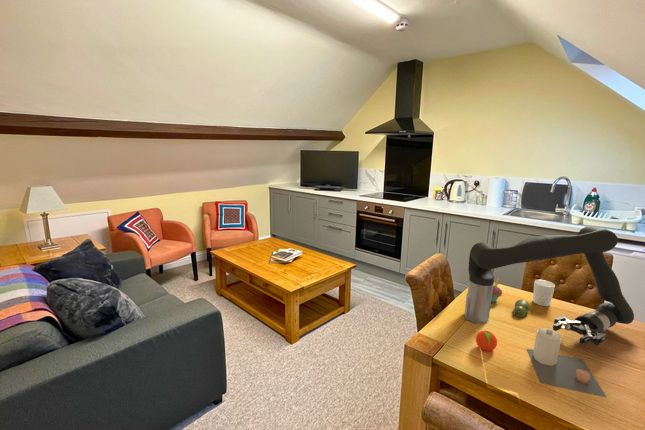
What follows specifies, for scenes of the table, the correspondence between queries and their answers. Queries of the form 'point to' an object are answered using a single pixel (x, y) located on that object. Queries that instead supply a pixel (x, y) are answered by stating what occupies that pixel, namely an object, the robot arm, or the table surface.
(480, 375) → the table surface
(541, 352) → the white lidded jar
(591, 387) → the mat
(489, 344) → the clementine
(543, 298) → the white cup
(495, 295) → the cupcake
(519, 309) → the pear
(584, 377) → the peach round piece
